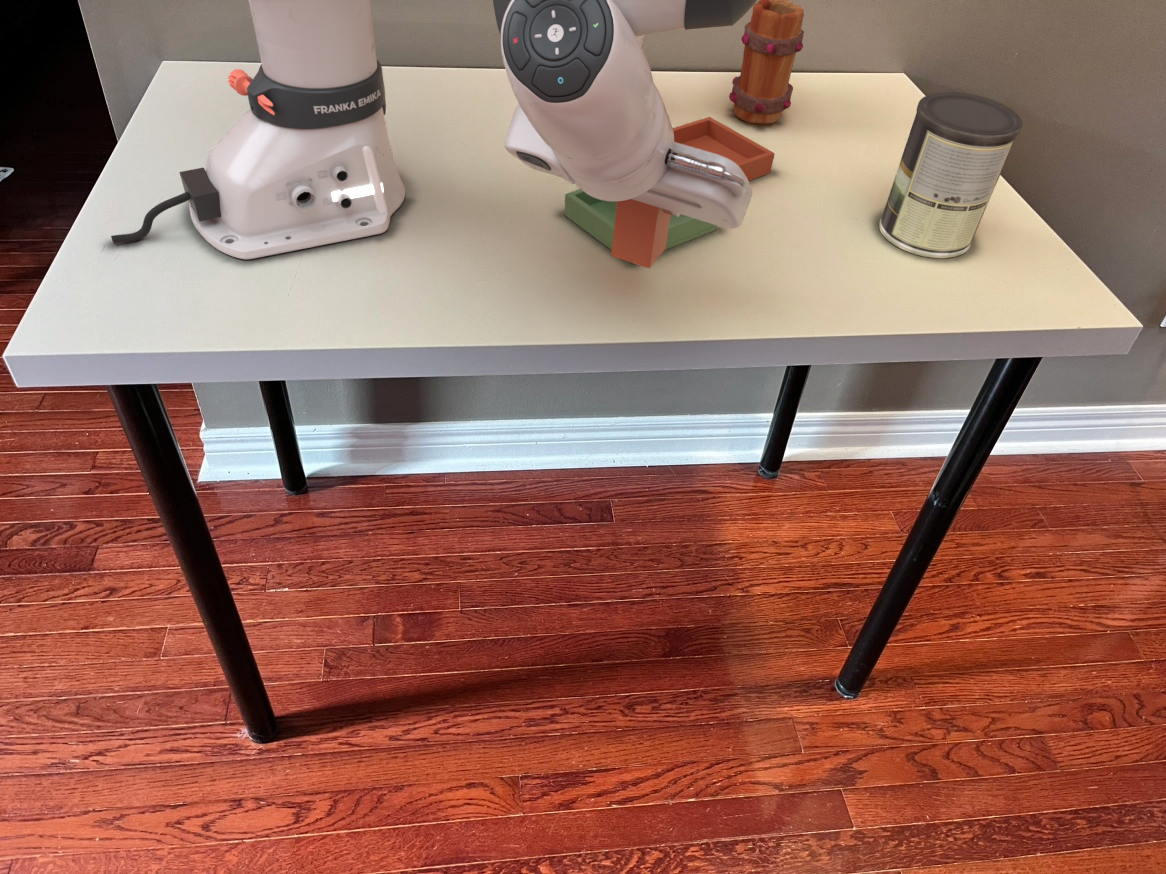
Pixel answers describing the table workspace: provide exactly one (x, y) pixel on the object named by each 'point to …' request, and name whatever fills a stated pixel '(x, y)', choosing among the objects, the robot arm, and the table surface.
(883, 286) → the table surface
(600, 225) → the green tray
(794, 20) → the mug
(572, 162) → the robot arm
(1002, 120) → the coffee can
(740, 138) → the terracotta tray
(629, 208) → the terracotta block
